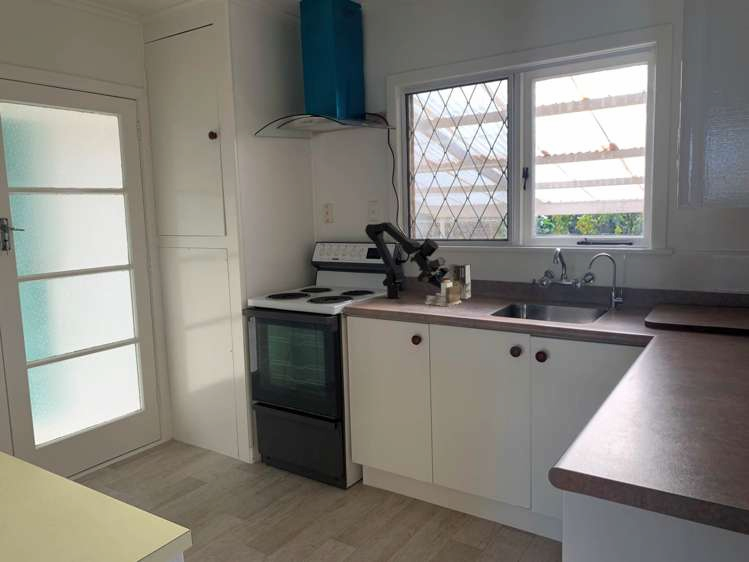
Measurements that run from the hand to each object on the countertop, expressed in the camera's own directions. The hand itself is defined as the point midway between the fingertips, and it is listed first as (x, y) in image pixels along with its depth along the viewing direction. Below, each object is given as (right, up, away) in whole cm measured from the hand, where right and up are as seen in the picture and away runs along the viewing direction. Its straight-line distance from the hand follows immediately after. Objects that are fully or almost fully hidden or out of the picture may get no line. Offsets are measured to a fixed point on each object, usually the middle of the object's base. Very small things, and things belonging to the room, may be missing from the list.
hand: (443, 288), depth 268 cm
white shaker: (+1, -6, 0) cm, 6 cm away
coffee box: (+10, -5, +16) cm, 20 cm away
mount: (0, -7, +1) cm, 7 cm away
